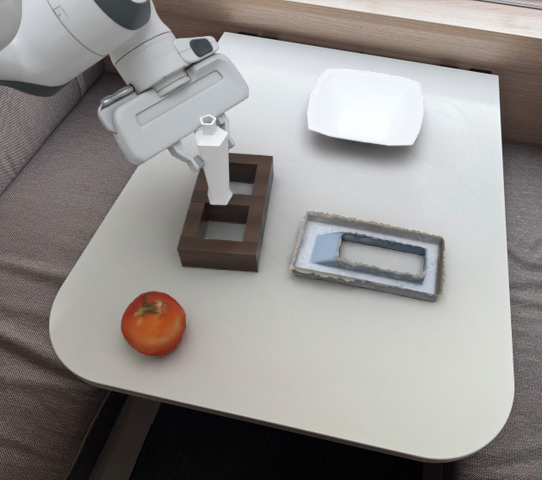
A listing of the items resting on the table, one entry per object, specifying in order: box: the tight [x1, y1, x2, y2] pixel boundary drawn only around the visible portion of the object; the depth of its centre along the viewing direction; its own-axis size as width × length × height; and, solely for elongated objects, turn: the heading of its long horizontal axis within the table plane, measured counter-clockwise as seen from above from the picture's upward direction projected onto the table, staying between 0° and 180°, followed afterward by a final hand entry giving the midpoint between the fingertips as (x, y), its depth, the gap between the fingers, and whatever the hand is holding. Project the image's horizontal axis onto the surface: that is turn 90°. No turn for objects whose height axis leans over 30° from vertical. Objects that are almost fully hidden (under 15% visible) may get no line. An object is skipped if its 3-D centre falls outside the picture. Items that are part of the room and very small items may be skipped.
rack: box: [176, 152, 275, 273], centre depth 90 cm, size 22×12×5 cm, turn 176°
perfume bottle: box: [193, 114, 234, 205], centre depth 75 cm, size 5×4×15 cm
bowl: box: [306, 67, 425, 147], centre depth 107 cm, size 22×23×6 cm
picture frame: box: [289, 210, 446, 302], centre depth 87 cm, size 13×25×3 cm, turn 80°
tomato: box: [120, 290, 187, 358], centre depth 75 cm, size 9×9×8 cm
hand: (215, 158), depth 74 cm, fingers closed on perfume bottle, 4 cm apart
